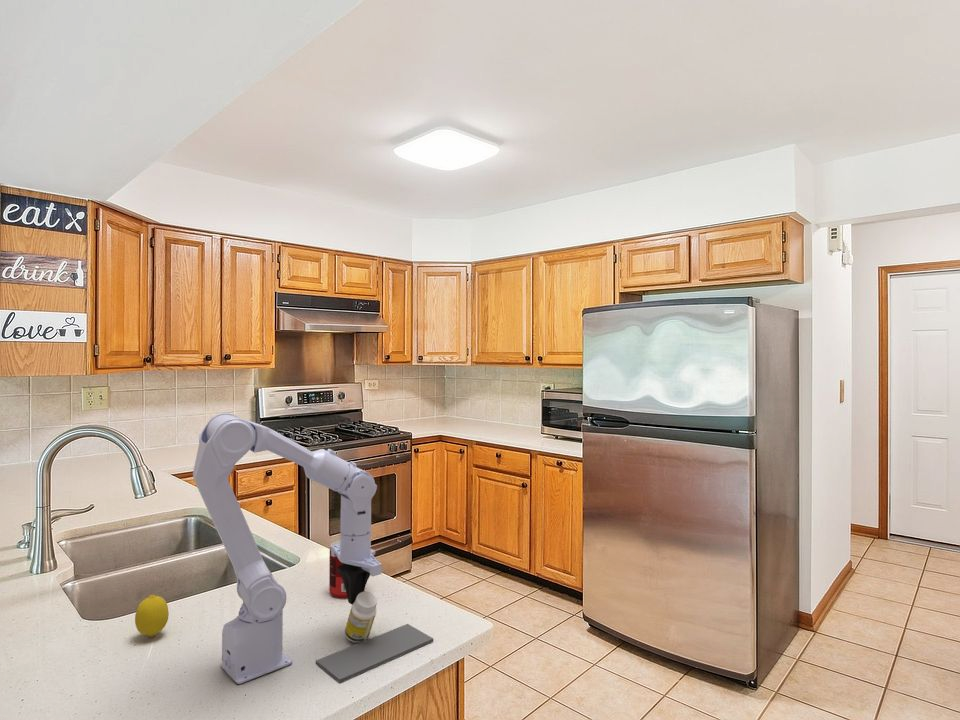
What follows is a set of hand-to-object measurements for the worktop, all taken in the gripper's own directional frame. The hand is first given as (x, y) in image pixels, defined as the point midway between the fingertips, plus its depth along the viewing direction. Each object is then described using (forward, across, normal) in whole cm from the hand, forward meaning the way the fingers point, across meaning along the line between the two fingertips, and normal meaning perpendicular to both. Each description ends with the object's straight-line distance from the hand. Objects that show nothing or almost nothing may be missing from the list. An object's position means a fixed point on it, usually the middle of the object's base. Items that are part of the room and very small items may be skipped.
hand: (355, 602), depth 110 cm
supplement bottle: (+6, -1, 0) cm, 6 cm away
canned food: (+7, +19, -10) cm, 23 cm away
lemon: (+7, +26, +28) cm, 39 cm away
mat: (+7, -8, 0) cm, 10 cm away
